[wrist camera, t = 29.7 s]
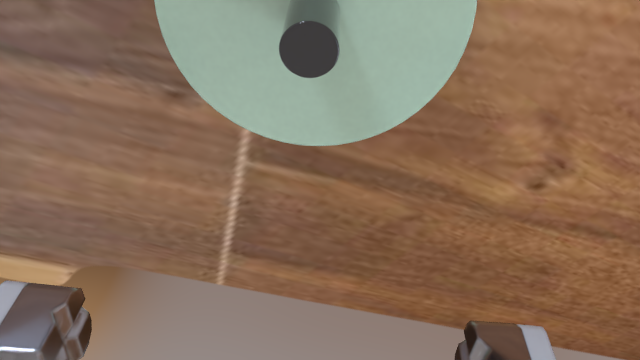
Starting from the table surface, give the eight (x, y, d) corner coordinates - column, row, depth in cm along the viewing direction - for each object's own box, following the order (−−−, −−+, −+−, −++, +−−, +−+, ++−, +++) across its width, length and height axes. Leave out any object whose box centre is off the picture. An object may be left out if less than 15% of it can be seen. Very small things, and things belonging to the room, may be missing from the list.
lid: (432, 149, 32) (446, 209, 28) (170, 121, 32) (141, 178, 27) (518, -158, 22) (561, -141, 18) (143, -206, 22) (92, -200, 17)
